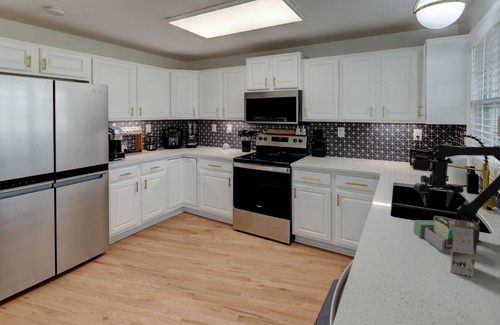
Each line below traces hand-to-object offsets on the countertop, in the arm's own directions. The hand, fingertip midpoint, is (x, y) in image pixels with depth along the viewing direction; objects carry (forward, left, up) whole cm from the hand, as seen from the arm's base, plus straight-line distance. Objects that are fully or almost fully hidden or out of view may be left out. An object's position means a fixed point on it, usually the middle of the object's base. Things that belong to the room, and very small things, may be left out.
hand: (436, 206), depth 133 cm
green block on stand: (+4, +12, -12) cm, 18 cm away
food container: (+3, +15, -12) cm, 19 cm away
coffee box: (+9, +36, -12) cm, 39 cm away
